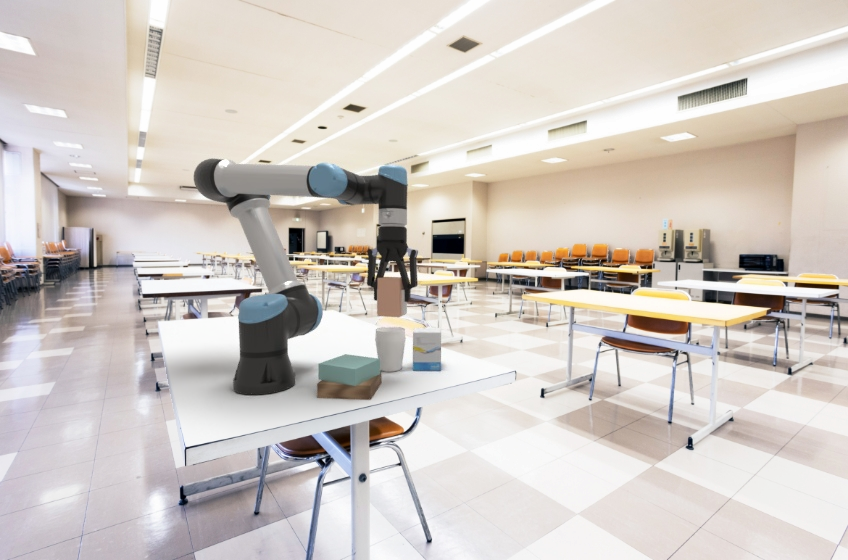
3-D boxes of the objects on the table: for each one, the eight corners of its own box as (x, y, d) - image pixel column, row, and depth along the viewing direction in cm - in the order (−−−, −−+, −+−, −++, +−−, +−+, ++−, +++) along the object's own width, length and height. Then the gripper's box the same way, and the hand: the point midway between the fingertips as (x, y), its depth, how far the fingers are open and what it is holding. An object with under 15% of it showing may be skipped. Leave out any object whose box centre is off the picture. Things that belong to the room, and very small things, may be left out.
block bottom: (317, 400, 98) (317, 383, 98) (334, 383, 111) (334, 369, 111) (370, 402, 97) (370, 385, 97) (381, 385, 110) (381, 370, 109)
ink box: (441, 371, 121) (441, 332, 120) (412, 371, 121) (412, 331, 120) (440, 363, 130) (440, 327, 129) (413, 363, 130) (413, 326, 129)
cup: (401, 373, 118) (401, 332, 117) (371, 372, 120) (371, 331, 119) (408, 365, 127) (408, 327, 126) (380, 364, 129) (380, 326, 128)
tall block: (377, 316, 107) (377, 278, 107) (385, 313, 113) (385, 276, 113) (399, 317, 106) (399, 278, 105) (406, 314, 112) (406, 277, 111)
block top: (318, 379, 101) (318, 363, 101) (345, 368, 111) (345, 354, 111) (355, 385, 96) (355, 369, 96) (380, 374, 106) (380, 358, 106)
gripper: (353, 225, 107) (353, 313, 108) (423, 225, 102) (422, 317, 103) (364, 227, 114) (364, 309, 115) (431, 227, 109) (429, 313, 111)
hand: (391, 313), depth 109 cm, fingers closed on tall block, 6 cm apart
